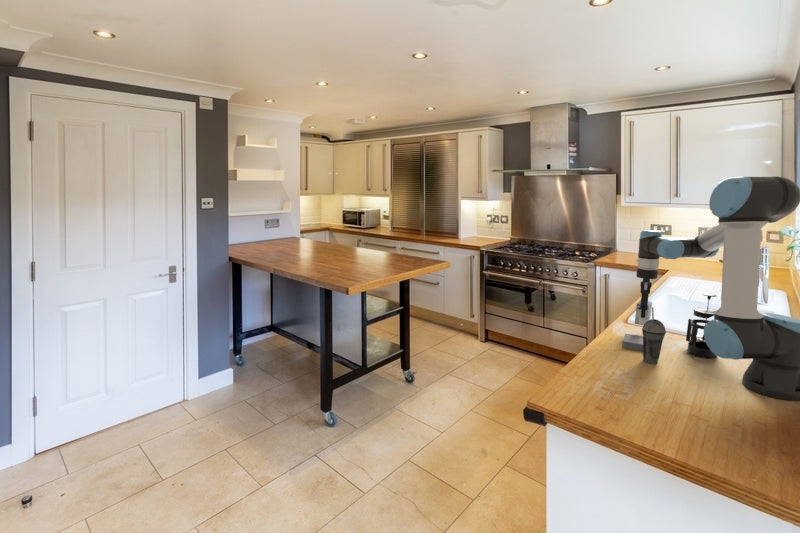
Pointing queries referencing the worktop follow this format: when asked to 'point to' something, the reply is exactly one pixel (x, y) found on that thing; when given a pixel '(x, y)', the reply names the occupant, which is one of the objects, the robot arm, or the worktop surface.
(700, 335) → the french press
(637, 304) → the medicine box
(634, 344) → the base board
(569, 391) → the worktop surface
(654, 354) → the beverage cup
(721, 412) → the worktop surface
